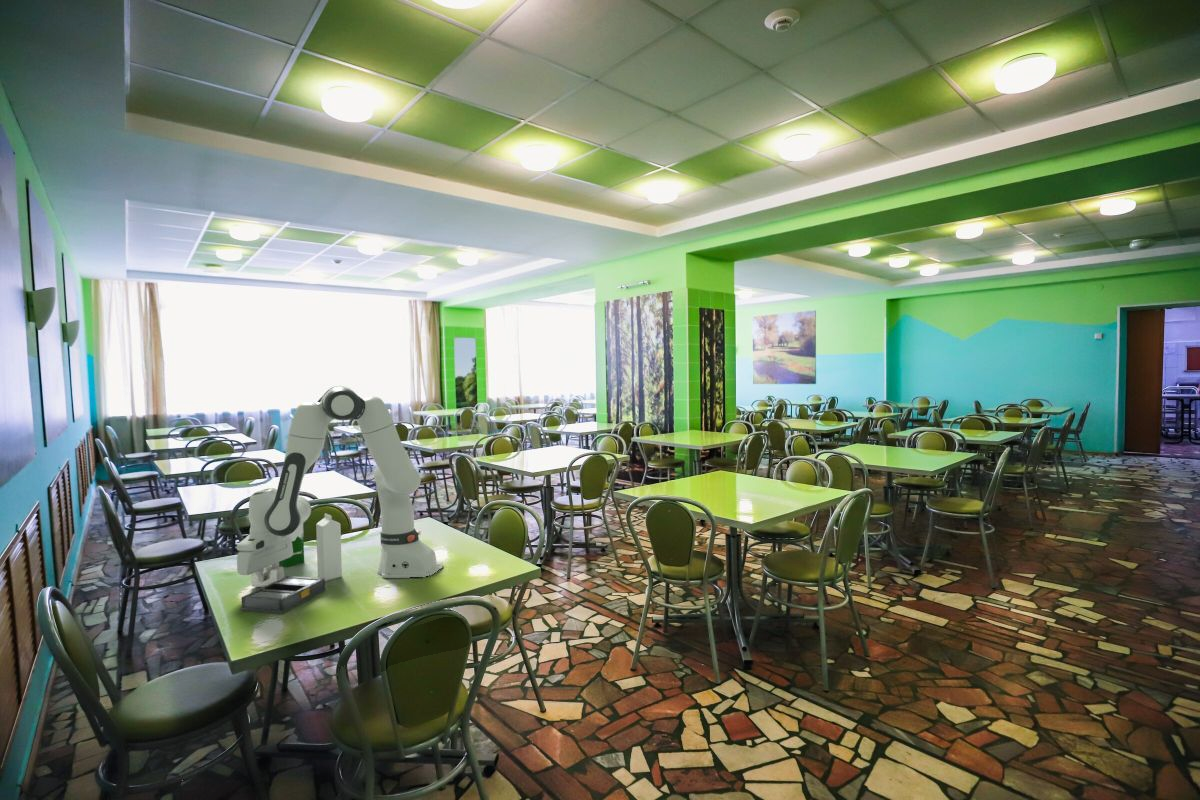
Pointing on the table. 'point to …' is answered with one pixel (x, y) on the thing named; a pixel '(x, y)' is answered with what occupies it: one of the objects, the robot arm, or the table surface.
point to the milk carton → (295, 548)
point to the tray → (283, 594)
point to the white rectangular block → (268, 576)
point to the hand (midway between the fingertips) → (267, 579)
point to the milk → (329, 548)
